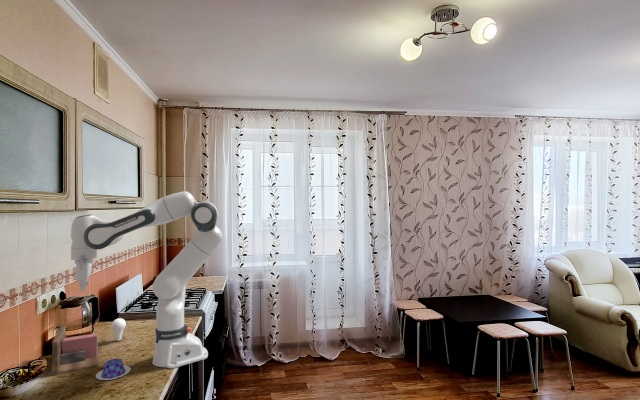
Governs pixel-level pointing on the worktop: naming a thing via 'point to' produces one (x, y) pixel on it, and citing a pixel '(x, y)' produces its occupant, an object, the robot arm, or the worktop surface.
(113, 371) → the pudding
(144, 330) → the worktop surface
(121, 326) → the lightbulb
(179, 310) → the robot arm
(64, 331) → the shelf stand
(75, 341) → the book
